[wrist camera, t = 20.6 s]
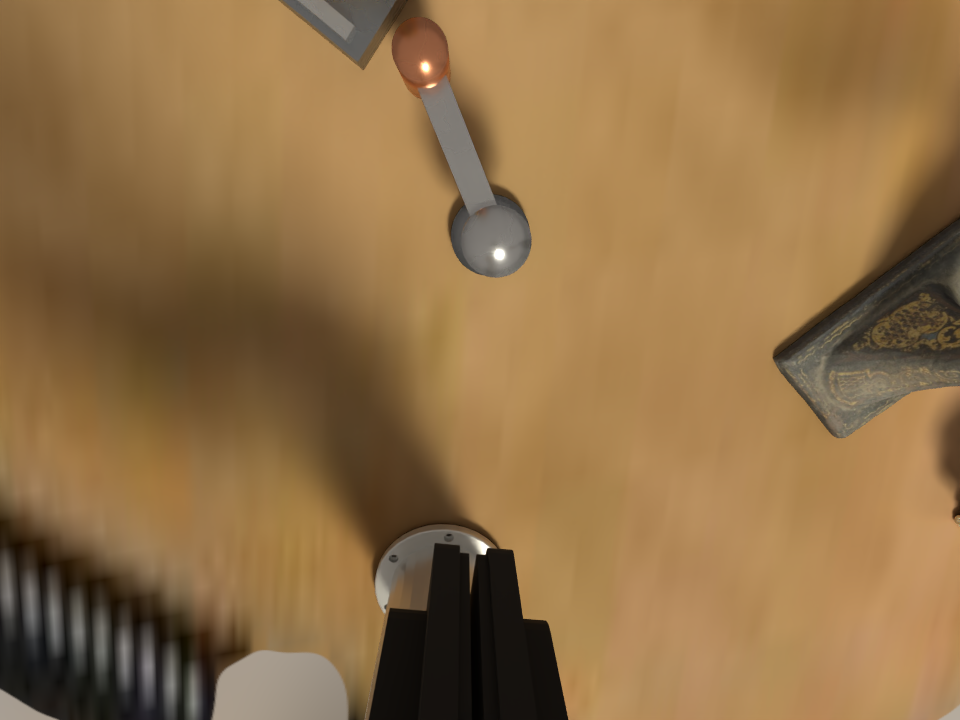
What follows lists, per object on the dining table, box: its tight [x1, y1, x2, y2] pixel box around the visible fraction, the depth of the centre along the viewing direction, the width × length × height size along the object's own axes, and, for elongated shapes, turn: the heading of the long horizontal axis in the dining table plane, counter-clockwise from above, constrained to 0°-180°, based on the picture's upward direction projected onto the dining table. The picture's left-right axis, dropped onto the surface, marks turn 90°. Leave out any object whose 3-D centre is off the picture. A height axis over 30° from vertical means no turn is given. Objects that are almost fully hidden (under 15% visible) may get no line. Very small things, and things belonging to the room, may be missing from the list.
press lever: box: [392, 17, 531, 277], centre depth 31 cm, size 4×15×5 cm, turn 23°
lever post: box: [451, 195, 529, 275], centre depth 36 cm, size 6×6×6 cm
